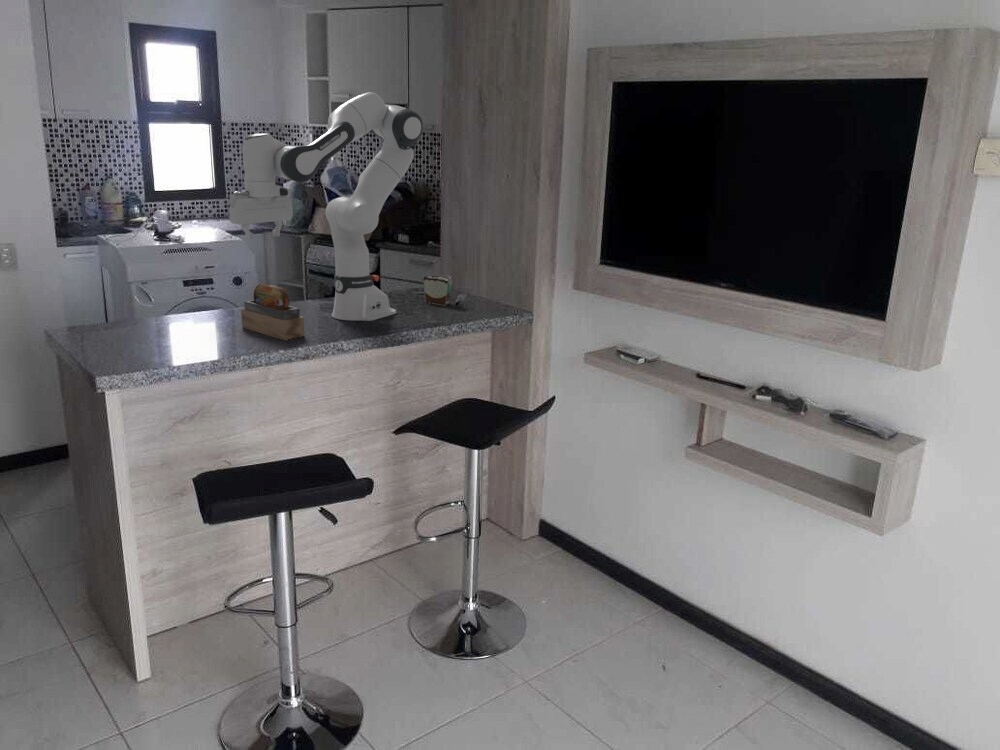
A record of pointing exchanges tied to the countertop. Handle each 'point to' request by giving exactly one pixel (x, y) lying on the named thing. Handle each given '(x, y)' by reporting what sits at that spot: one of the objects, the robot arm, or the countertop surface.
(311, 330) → the countertop surface
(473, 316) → the countertop surface
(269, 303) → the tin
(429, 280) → the food container
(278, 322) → the open rectangular box
